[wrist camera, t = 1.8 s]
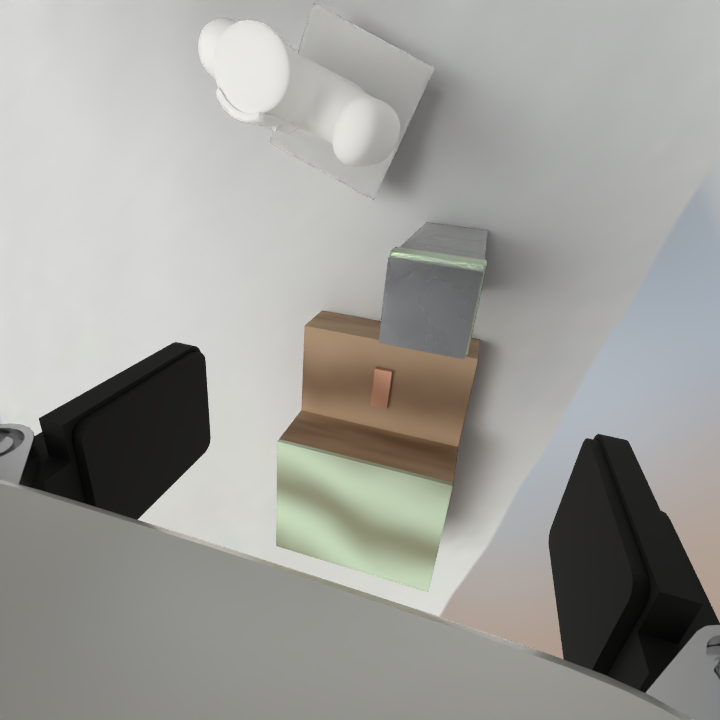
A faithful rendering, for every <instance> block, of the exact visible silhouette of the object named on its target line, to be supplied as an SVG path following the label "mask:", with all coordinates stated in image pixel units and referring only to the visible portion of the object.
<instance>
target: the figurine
mask: <svg viewBox="0 0 720 720" xmlns="http://www.w3.org/2000/svg"><path fill="white" fill-rule="evenodd" d="M198 52H199V57H200V60H201V62H202V65H203V66H204V68H205V69H206V71H207V72H208V73H209V74H210V75H211V76H212V77H214V78H215V79H216V82H217V85H218V88H217V92H216V96H217V98H218V100H219V102H220V104H221V106H222V107H223V108H224V109H225V111H226V112H227V113H228V114H229V115H231V116H232V117H233V118H235V119H237V120H239V121H241V122H245V123H249V124H254V125H260V126H265V127H271V128H272V129H273V131H272V134H271V137H270V140H269V142H270V143H272V144H274V145H275V146H277V147H279V148H281V149H283V150H284V151H286V152H288V153H290V154H292V155H293V156H295V157H297V158H299V159H301V160H302V161H304V162H306V163H308V164H309V165H311V166H313V167H315V168H317V169H318V170H320V171H322V172H324V173H326V174H327V175H329V176H331V177H333V178H335V179H336V180H338V181H340V182H342V183H344V184H345V185H347V186H349V187H351V188H352V189H354V190H356V191H358V192H360V193H361V194H363V195H365V196H367V197H369V198H370V199H372V200H374V199H375V196H376V194H377V192H378V190H379V188H380V186H381V183H382V181H383V179H384V177H385V175H386V173H387V170H388V168H389V166H390V164H391V162H392V160H393V157H394V155H395V153H396V151H397V149H398V147H399V145H400V142H401V140H402V138H403V136H404V134H405V132H406V129H407V127H408V125H409V123H410V121H411V119H412V116H413V114H414V112H415V110H416V108H417V106H418V103H419V101H420V99H421V97H422V95H423V93H424V91H425V88H426V86H427V84H428V82H429V80H430V78H431V75H432V73H433V71H434V69H435V68H434V67H432V66H430V65H428V64H426V63H425V62H423V61H421V60H419V59H417V58H415V57H414V56H412V55H410V54H408V53H406V52H404V51H402V50H401V49H399V48H397V47H395V46H393V45H391V44H390V43H388V42H386V41H384V40H382V39H380V38H378V37H377V36H375V35H373V34H371V33H369V32H367V31H366V30H364V29H362V28H360V27H358V26H356V25H354V24H353V23H351V22H349V21H347V20H345V19H343V18H341V17H340V16H338V15H336V14H334V13H332V12H330V11H329V10H327V9H325V8H323V7H321V6H319V5H317V4H316V3H314V4H313V7H312V10H311V13H310V16H309V19H308V22H307V25H306V29H305V32H304V35H303V38H302V41H301V44H300V47H299V50H298V53H297V52H295V50H294V49H293V48H292V47H291V46H290V45H289V44H288V43H287V42H286V41H285V40H284V39H283V38H282V37H281V36H280V35H279V34H278V33H276V32H275V31H274V30H273V29H272V28H271V27H269V26H268V25H266V24H264V23H262V22H260V21H256V20H242V21H238V22H237V21H234V20H231V19H225V18H219V19H214V20H212V21H210V22H209V23H207V24H206V25H205V26H204V28H203V29H202V32H201V34H200V37H199V42H198Z"/></svg>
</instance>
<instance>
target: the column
mask: <svg viewBox="0 0 720 720" xmlns="http://www.w3.org/2000/svg"><path fill="white" fill-rule="evenodd" d="M487 236H488V230H482V229H474V228H467V227H459V226H452V225H444V224H437V223H429V222H427V223H426V224H424V225H423V226H422V227H421V228H420V229H419V230H418V231H417V232H416V233H415V234H414V235H412V236H411V237H410V238H409V239H408V240H407V241H406V242H405V243H404V244H403V245H402V246H401V247H395V248H394V249H393V250H391V251H390V257H389V258H388V265H387V274H386V282H385V291H384V299H383V308H382V316H381V325H380V333H379V342H378V343H382V344H387V345H392V346H397V347H402V348H407V349H413V350H418V351H423V352H428V353H433V354H438V355H444V356H449V357H454V358H459V359H464V360H465V355H468V350H469V345H470V341H471V336H472V331H473V327H474V322H475V318H476V313H477V308H478V304H479V299H480V294H481V290H482V285H483V280H484V276H485V271H486V266H487V260H485V253H486V245H487Z"/></svg>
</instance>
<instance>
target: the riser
mask: <svg viewBox="0 0 720 720" xmlns="http://www.w3.org/2000/svg"><path fill="white" fill-rule="evenodd" d="M380 325H381V321H375V320H370V319H364V318H359V317H354V316H348V315H343V314H337V313H332V312H326V311H321V312H320V313H319V314H318V315H316V316H315V317H314V318H313V319H312V320H311V321H310V322H308V323H307V324H306V325H305V332H304V359H303V386H302V410H301V412H300V413H299V414H298V416H297V417H296V418H295V419H294V421H293V422H292V423H291V425H290V426H289V427H288V428H287V430H286V431H285V432H284V434H283V435H282V436H281V438H280V439H279V440H278V441H277V532H276V546H278V547H282V548H285V549H288V550H292V551H295V552H298V553H301V554H305V555H308V556H311V557H314V558H318V559H321V560H324V561H327V562H331V563H334V564H337V565H341V566H344V567H347V568H350V569H354V570H357V571H360V572H363V573H367V574H370V575H373V576H377V577H380V578H383V579H386V580H390V581H393V582H396V583H399V584H403V585H406V586H409V587H412V588H416V589H419V590H422V591H426V592H428V591H429V587H430V583H431V578H432V574H433V570H434V565H435V561H436V557H437V552H438V548H439V544H440V539H441V535H442V531H443V527H444V522H445V518H446V514H447V509H448V505H449V501H450V496H451V492H452V488H453V482H454V474H455V467H456V459H457V452H458V445H459V441H460V437H461V432H462V428H463V424H464V419H465V415H466V410H467V406H468V402H469V397H470V393H471V388H472V384H473V380H474V375H475V371H476V366H477V362H478V356H479V345H480V340H479V339H474V338H471V341H470V345H469V350H468V355H465V360H464V359H459V358H454V357H449V356H444V355H438V354H433V353H428V352H423V351H418V350H413V349H407V348H402V347H397V346H392V345H387V344H382V343H378V342H379V333H380Z"/></svg>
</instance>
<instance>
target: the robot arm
mask: <svg viewBox="0 0 720 720" xmlns="http://www.w3.org/2000/svg"><path fill="white" fill-rule="evenodd" d="M39 421H40V425H41V429H42V432H41V433H39V434H38V435H36V436H34V432H33V431H32V430H31V429H30V428H29V427H26V426H24V425H19V424H0V720H720V623H719V621H718V619H717V617H716V615H715V612H714V610H713V608H712V606H711V604H710V602H709V600H708V598H707V596H706V594H705V592H704V590H703V588H702V585H701V583H700V581H699V579H698V577H697V575H696V573H695V571H694V569H693V566H692V564H691V562H690V560H689V558H688V556H687V554H686V552H685V550H684V548H683V546H682V543H681V541H680V540H679V537H678V535H677V533H676V531H675V529H674V527H673V525H672V523H671V521H670V519H669V517H668V516H667V514H666V513H664V512H662V511H660V509H659V506H658V504H657V502H656V500H655V498H654V496H653V494H652V491H651V489H650V487H649V485H648V482H647V480H646V478H645V476H644V474H643V472H642V470H641V467H640V465H639V463H638V461H637V459H636V457H635V455H634V452H633V450H632V448H631V446H630V444H629V442H628V441H627V440H624V439H619V438H614V437H610V436H605V435H601V434H598V435H596V436H595V438H594V439H593V440H592V439H588V438H587V439H585V441H584V442H583V444H582V447H581V450H580V452H579V455H578V458H577V460H576V463H575V466H574V468H573V471H572V473H571V476H570V479H569V481H568V484H567V487H566V490H565V492H564V495H563V497H562V500H561V503H560V505H559V508H558V511H557V513H556V516H555V519H554V521H553V524H552V527H551V530H550V534H549V550H550V558H551V566H552V573H553V581H554V588H555V596H556V604H557V611H558V619H559V626H560V634H561V641H562V650H563V657H564V660H563V659H561V658H558V657H555V656H552V655H550V654H547V653H544V652H541V651H539V650H536V649H533V648H530V647H527V646H525V645H521V644H518V643H516V642H513V641H510V640H506V639H504V638H501V637H498V636H494V635H492V634H489V633H485V632H483V631H480V630H477V629H474V628H471V627H468V626H465V625H462V624H460V623H456V622H453V621H450V620H447V619H444V618H441V617H438V616H435V615H432V614H429V613H426V612H423V611H420V610H417V609H414V608H410V607H407V606H404V605H401V604H398V603H395V602H392V601H389V600H386V599H383V598H380V597H377V596H374V595H371V594H368V593H364V592H361V591H358V590H355V589H352V588H349V587H346V586H343V585H340V584H337V583H334V582H331V581H328V580H325V579H321V578H318V577H315V576H312V575H309V574H306V573H303V572H300V571H297V570H293V569H290V568H287V567H284V566H281V565H278V564H275V563H272V562H268V561H265V560H262V559H259V558H256V557H253V556H250V555H247V554H243V553H240V552H237V551H234V550H231V549H228V548H225V547H221V546H218V545H215V544H212V543H209V542H206V541H203V540H200V539H196V538H193V537H190V536H187V535H184V534H181V533H177V532H174V531H171V530H168V529H165V528H161V527H158V526H155V525H152V524H149V523H145V522H142V521H139V520H137V519H138V518H140V517H141V516H142V515H143V514H144V513H145V512H146V511H147V510H148V509H149V508H150V507H151V506H152V505H153V504H154V503H155V502H156V501H157V500H158V499H159V498H160V497H161V496H162V495H163V494H164V493H165V492H166V491H167V490H168V489H169V488H170V487H171V486H172V485H173V484H174V483H175V482H176V481H177V480H178V479H179V478H180V477H181V476H182V475H183V474H184V473H185V472H186V471H187V470H188V469H189V468H190V467H191V466H192V465H193V464H194V463H195V462H196V461H197V460H198V459H199V458H200V457H201V456H202V455H203V454H204V453H205V452H206V450H207V449H208V447H209V444H210V424H209V408H208V393H207V378H206V362H205V357H204V355H203V354H202V353H201V352H200V350H199V348H198V347H196V346H191V345H187V344H182V343H177V342H175V343H172V344H171V345H169V346H167V347H165V348H163V349H162V350H160V351H158V352H156V353H154V354H153V355H151V356H149V357H147V358H146V359H144V360H142V361H140V362H138V363H137V364H135V365H133V366H131V367H130V368H128V369H126V370H124V371H122V372H121V373H119V374H117V375H115V376H114V377H112V378H110V379H108V380H106V381H105V382H103V383H101V384H99V385H98V386H96V387H94V388H92V389H90V390H89V391H87V392H85V393H83V394H82V395H80V396H78V397H76V398H74V399H73V400H71V401H69V402H67V403H66V404H64V405H62V406H60V407H58V408H57V409H55V410H53V411H51V412H49V413H48V414H46V415H44V416H42V417H41V418H39Z"/></svg>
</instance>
